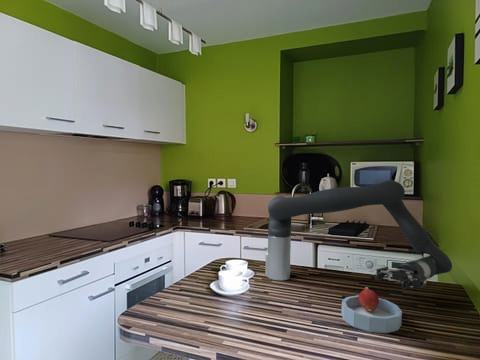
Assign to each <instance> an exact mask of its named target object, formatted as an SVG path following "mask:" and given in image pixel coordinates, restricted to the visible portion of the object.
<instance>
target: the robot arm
mask: <svg viewBox="0 0 480 360" xmlns="http://www.w3.org/2000/svg"><path fill="white" fill-rule="evenodd" d="M405 192H406V191H405V188H404V186H403V185H402V184H401V183H400V182H398V181H396V180H392V179H388V180H383V181H380V182H377V183H375V184H370V185H364V186H345V187H343V186H342V187H333V188H328V189H327V188H326V189H323V190H318V191H314V192H311V193H307V194H305V195H300V196H289V197H286V196H284V195H277V196H275V197H273V198H272V199H271V200H270V202H269V203H268V207H267V211H268V214H269V215H268V217H269V218H268V227H267V228H268V229H267V231H268V232H267V233H268V234H267V236H268V237H267V252H266V253H265V271H264V273H265V275H264V276H265V277H267V278H268V279H270V280H274V281H287V280H289V279H291V277H290V276H291V250H292V249H291V247H292V246H291V245H292V244H291V242H292V240H291V239H292V236H291V235H292V218H294V217H299V216H304V215H315V214H316V215H319V214H330V213H337V212H338V213H339V212H344V211H348V210H354V209H358V208H361V207H367V206H377V205H378V206H379V205H382V206H383V207H384V208H385V209H386V210H387V212H388V213H389V214H390V215H391V217H392V218H393V219H394V221H395V222H396V224H397V225H398V227H399V229H400V230H401V232H402V233H403V235H404V237H405V238H406V240H407V241H408V243H409V244H410V246H411V248H412V249H413V251H414V252H416V253H417V254H427V255H428V256H424V257H421V258H418V259H416V260H415V259H414V260H410V261H409V260H408V261H407V262H403V263H400V265H398V267H397V268H395V269H394V268H393V269H390V268H389V267H388V266H384V267H380V268H376V273H375V274H374V280H375V281H377V282H379V281H381V280H388V281H389V282H390V281H392V282H393V281H394V282H395V281H396V282H399V283H400V282H401V285H400V288H401V289H403V290H404V289H408V288H414V287H415V289H422V288H424V287H425V286H427V280H429V279H432V278H433V277H434V276H437V275H441V274H446V273H449V272H451V271H452V269H453V264H452V261H451V258H450V257H449V256H448V255H447V254H446V253H445V252H444V251H442V250H441V249H440V248H439V247H438V245H436V244H435V243H434V242H433V241H432V239H431V238H430V236H429V235H428V233H427V231H426V230H425V228H424V227H423V226H422V225H421V223H420V222H419V221H418V220H417V219H416V217H414V216H413V214H412V213H411V212H410V211H409V210H408V208H407V206H406V205H405V203H404V201H403V199H404V197H405V194H406V193H405Z"/></svg>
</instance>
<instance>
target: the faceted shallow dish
mask: <svg viewBox="0 0 480 360" xmlns="http://www.w3.org/2000/svg"><path fill="white" fill-rule="evenodd" d="M378 299H379V305H378V307H377V308H376V309H375V310H373V311H368V310H366V309H364V308H363V307H362V306H361V305H360V303H359V294H357V295H352V296H351V295H350V296H346V297H345V298H343V299H342V301H341V317H342V319H343V321H344V322H345V323H347V324H348V325H351V326H352V327H354V328H356V329H360V330H363V331H366V332H370V333H379V334H389V333H393V332H396V331H399V329H400V328H401V326H402V317H403V311H402V310H401V308H400V307H399V306H398V305H397V304H396V303H393V302H392V301H389V300H387V299H384V298H379V297H378Z"/></svg>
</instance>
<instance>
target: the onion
mask: <svg viewBox="0 0 480 360" xmlns="http://www.w3.org/2000/svg"><path fill="white" fill-rule="evenodd" d="M358 295H359V303H360V305H361V306H362V307H363V308H364V309H366V310H368V311H373V310H375V309H376V308H377V307H378V305H379V299H378V298H379V296H378V295H377V293H376V292H375V291H373V290H371V289H369V287H368V286H365V287H364V289H363V290H361V292H359V294H358Z"/></svg>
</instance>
